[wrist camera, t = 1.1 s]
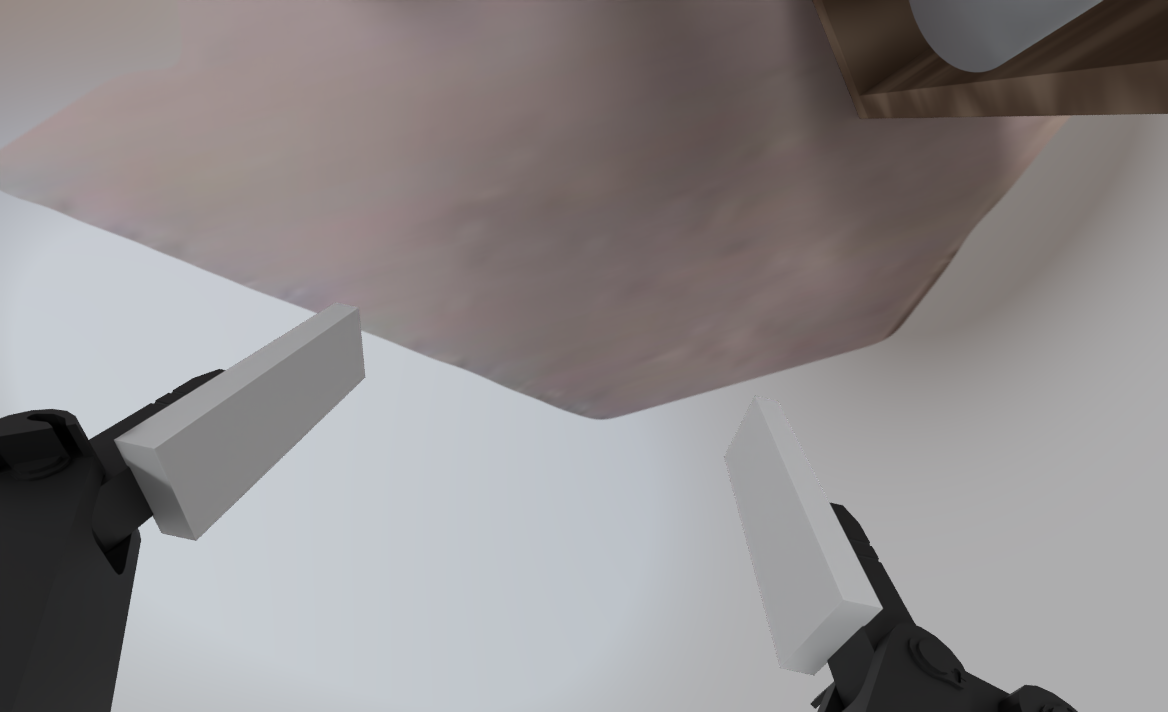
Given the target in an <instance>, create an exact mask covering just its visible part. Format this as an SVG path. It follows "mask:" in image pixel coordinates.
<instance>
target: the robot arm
mask: <svg viewBox="0 0 1168 712" xmlns="http://www.w3.org/2000/svg"><path fill="white" fill-rule="evenodd" d="M364 378H365V369H364V359H363V348H362V337H361V326H360V315H359V307H354V306H350V305H345V304H341V303H336V302H335V303H334V304H332V305H331V306H329V307H327V308H326V309H324V310H322V311H321V312H319V313H318V314H316V315H314V316H313V317H311V318H310V319H308V320H306V321H305V322H303V323H301V324H300V325H299V326H297V327H295V328H293V329H292V330H290V331H289V332H287V333H285V334H284V335H282V336H281V337H279V338H277V339H276V340H274V341H273V342H271V343H269V344H268V345H266V346H264V347H263V348H261V349H260V350H258V351H256V352H255V353H253V354H252V355H250V356H248V357H247V358H245V359H243V360H242V361H240V362H239V363H237V364H235V365H234V366H232V367H231V368H229V369H227V370H222V369H218V370H215V371H212V372H209V373H206V374H204V375H201V376H198V377H195V378H193V379H191V380H189V381H188V382H186V383H185V384H183V385H181V386H179V387H178V388H176V389H174V390H173V392H172V393H167V394H166V395H164V396H162V397H161V398H159V399H157V400H156V402H155V403H154V404H152V403H150V404H149V405H147V406H146V407H144V408H142V409H140V410H139V411H137V412H135V413H134V414H132V415H130V416H129V417H127V418H125V419H124V420H122V421H120V422H118V423H117V424H115V425H113V426H112V427H110V428H109V429H107V430H105V431H103V432H101V433H100V434H98V435H96V436H95V437H93V438H91V439H90V440H88V438H87V436H86V434H85V433H84V431H83V429H82V427H81V425H80V424H79V422H78V420H77V418H76V416H74V415H73V414H71V413H69V412H68V411H63V410H55V409H45V410H31V411H27V412H22V413H18V414H13V415H9V416H6V417H3V418H0V712H110V711H111V706H112V700H113V694H114V689H115V683H116V678H117V672H118V666H119V661H120V655H121V650H122V644H123V638H124V633H125V626H126V621H127V616H128V610H129V605H130V599H131V594H132V588H133V582H134V576H135V571H136V565H137V560H138V554H139V548H140V543H141V538H140V532H139V530H138V527H139V526H141V525H142V524H143V523H144V522H145V521H146V520H148V519H149V518H150V517H152V516H153V517H154V519H155V521H156V523H157V525H158V527H159V529H160V531H161V533H163V534H167V535H172V536H177V537H181V538H186V539H191V540H195V541H196V540H197V539H198V538H199V537H200V536H202V535H203V534H204V533H205V532H206V531H207V530H208V529H209V528H210V527H211V526H212V525H213V524H214V523H215V522H216V521H217V520H218V519H219V518H220V517H221V516H222V515H223V514H224V513H225V512H226V511H227V510H228V509H229V508H230V507H231V506H232V505H234V504H235V503H236V502H237V501H238V500H239V499H240V498H241V497H242V496H243V495H244V494H245V493H246V492H247V491H248V490H249V489H250V488H251V487H252V486H253V485H254V484H255V483H256V482H257V481H258V480H259V479H260V478H262V476H264V475H265V474H266V473H267V472H268V471H269V470H270V469H271V468H272V467H273V466H274V465H275V464H276V463H277V462H278V461H279V460H280V459H281V458H282V457H283V456H284V455H285V454H286V453H287V452H288V451H289V450H290V449H292V447H294V446H295V445H296V444H297V443H298V442H299V441H300V440H301V439H302V438H303V437H304V436H305V435H306V434H307V433H308V432H309V431H310V430H311V429H312V428H313V427H314V426H315V425H316V424H317V423H318V422H319V421H320V420H321V419H322V418H324V417H325V416H326V414H328V413H329V412H330V411H331V410H332V409H333V408H334V407H335V406H336V405H337V404H338V403H339V402H340V401H341V400H342V399H343V398H344V397H345V396H346V395H347V394H348V393H349V392H350V391H352V390H353V388H354V387H356V386H357V385H358V384H359V383H360V382H361V381H362V380H363V379H364ZM724 458H725V462H726V465H727V469H728V473H729V477H730V481H731V484H732V488H733V492H734V496H735V499H736V503H737V507H738V511H739V514H740V518H741V522H742V526H743V529H744V533H745V537H746V541H747V545H748V549H749V552H750V556H751V560H752V564H753V567H754V571H755V575H756V579H757V582H758V586H759V590H760V593H761V598H762V601H763V605H764V609H765V613H766V616H767V620H768V624H769V627H770V631H771V635H772V639H773V643H774V647H775V650H776V654H777V658H778V662H779V665H780V668H783V669H787V670H792V671H796V672H801V673H805V674H810V675H815V674H816V673H817V672H818V671H819V670H820V669H821V668H822V667H823V666H824V665H825V664H826V663H827V662H828V664H829V667H830V670H831V673H832V675H833V678H834V682H833V683H832V684H831V685H830V686H828V687H827V688H826V689H825V690H824V691H823V692H822V693H821V694H820V695H819V696H817V697H816V698H815V699H814V701H813V702H812V703H811V705H812V706H813V707H814V708H817V707H818V706H819V705H820V704H821V705H820V707H819V709H818V712H1077V711H1076V710H1075V709H1074V708H1073V707H1072V706H1071V705H1069V704H1068V703H1066V702H1065V701H1063V700H1062V699H1061V698H1059V697H1058V696H1056V695H1055V694H1053V693H1052V692H1049V691H1047V690H1045V689H1043V688H1040V687H1038V686H1031V685H1024V686H1023V687H1021V688H1019V689H1018V690H1016V691H1014V692H1013V693H1011V694H1009V693H1006V692H1005V691H1003V690H1001V689H999V688H997V687H995V686H993V685H991V684H989V683H987V682H985V681H983V680H981V679H979V678H977V677H976V676H974V675H972V674H970V673H968V672H966V671H965V669H964V667H963V665H962V664H961V662H960V661H959V660H958V659H957V657H956V656H955V655H954V654H953V652H952V651H951V650H950V649H949V648H948V647H947V646H946V645H945V644H944V643H942V642H941V641H940V640H939V639H938V638H937V637H936V636H934V635H932V634H931V633H929V632H928V631H926V630H924V629H923V628H921V627H919V626H916V624H915V623H914V621H913V620H912V618H911V616H910V614H909V612H908V611H907V608H906V607H905V605H904V603H903V601H902V599H901V598H900V596H899V594H898V592H897V590H896V589H895V587H894V585H893V583H892V582H891V580H890V578H889V576H888V574H887V572H886V571H885V569H884V567H883V565H882V563H881V562H879V561H878V559H879V558H878V556H877V554H876V553H875V551H874V549H873V547H872V546H870V544H869V543H870V542H869V540H868V538H867V536H866V535H865V533H864V531H863V529H862V528H861V526H860V524H859V523H858V521H857V520H856V519H855V518H854V517H853V516H852V515H851V514H850V513H849V512H848V511H847V510H846V508H845V507H844V506H843V505H838V504H834V503H829V501H828V499H827V497H826V495H825V493H824V491H823V489H822V488H821V485H820V483H819V481H818V479H817V477H816V476H815V474H814V471H813V470H812V467H811V466H810V464H809V462H808V460H807V458H806V456H805V454H804V452H803V450H802V448H801V446H800V444H799V442H798V440H797V438H796V436H795V434H794V432H793V430H792V428H791V426H790V424H789V422H788V420H787V418H786V416H785V414H784V412H783V410H782V408H781V406H780V404H779V402H778V401H777V400H772V399H768V398H763V397H759V396H754V398H753V400H752V402H751V404H750V406H749V408H748V410H747V412H746V414H745V416H744V418H743V420H742V422H741V424H740V426H739V428H738V430H737V432H736V434H735V436H734V438H733V440H732V442H731V444H730V446H729V448H728V450H727V452H726V454H725V456H724Z"/></svg>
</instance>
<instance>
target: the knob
mask: <svg viewBox="0 0 1168 712" xmlns="http://www.w3.org/2000/svg"><path fill="white" fill-rule="evenodd" d="M1101 1H1103V0H909V2H910V6H911V9H912V12H913V15H914V18H915V21H916V23H917V25H918V27H919V29H920V31H921V33H922V35H923V36H924V38H925V39H926V41H927V42H928V44H929V45H930V46H931V47H932V49H933V50H934V51H935V52H936V53H937V54H938V55H939V56H940V57H941V58H942V59H944V60H945V61H946V62H947V63H949V64H951V65H952V66H954V67H956V68H958V69H961V70H964V71H968V72H985V71H989V70H992V69H994V68H997V67H998V66H1000V65H1002V64H1003V63H1005V62H1006V61H1008V60H1010V59H1011V58H1013V57H1014V56H1016V55H1017V54H1019V53H1021V52H1022V51H1024V50H1025V49H1027V48H1029V47H1030V46H1032V45H1033V44H1035V43H1037V42H1038V41H1040V40H1041V39H1043V38H1044V37H1046V36H1048V35H1049V34H1051V33H1052V32H1054V31H1056V30H1057V29H1059V28H1060V27H1062V26H1063V25H1065V24H1067V23H1068V22H1070V21H1071V20H1073V19H1075V18H1076V17H1078V16H1079V15H1081V14H1082V13H1084V12H1086V11H1087V10H1089V9H1090V8H1092V7H1094V6H1095V5H1097V4H1098V3H1100V2H1101Z"/></svg>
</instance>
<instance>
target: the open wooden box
mask: <svg viewBox="0 0 1168 712" xmlns="http://www.w3.org/2000/svg"><path fill="white" fill-rule="evenodd" d="M812 1H813V3H814V6H815V8H816V11H817V13H818V16H819V18H820V21H821V23H822V26H823V28H824V31H825V33H826V36H827V38H828V41H829V43H830V46H831V48H832V51H833V53H834V55H835V58H836V60H837V63H838V65H839V68H840V70H841V73H842V75H843V78H844V80H845V83H846V85H847V88H848V90H849V93H850V95H851V98H852V100H853V103H854V105H855V108H856V110H857V113H858V115H859V118H860V119H871V118H933V117H994V116H1056V115H1111V114H1112V115H1115V114H1116V115H1117V114H1168V0H1103V1H1101V2H1100V3H1098V4H1097V5H1095V6H1094V7H1092V8H1090V9H1089V10H1087V11H1086V12H1084V13H1082V14H1081V15H1079V16H1078V17H1076V18H1075V19H1073V20H1071V21H1070V22H1068V23H1067V24H1065V25H1063V26H1062V27H1060V28H1059V29H1057V30H1056V31H1054V32H1052V33H1051V34H1049V35H1048V36H1046V37H1044V38H1043V39H1041V40H1040V41H1038V42H1037V43H1035V44H1033V45H1032V46H1030V47H1029V48H1027V49H1025V50H1024V51H1022V52H1021V53H1019V54H1017V55H1016V56H1014V57H1013V58H1011V59H1010V60H1008V61H1006V62H1005V63H1003V64H1002V65H1000V66H998V67H997V68H994V69H992V70H989V71H985V72H968V71H964V70H961V69H958V68H956V67H954V66H952V65H951V64H949V63H947V62H946V61H945V60H944V59H942V58H941V57H940V56H939V55H938V54H937V53H936V52H935V51H934V50H933V49H932V47H931V46H930V45H929V44H928V42H927V41H926V39H925V38H924V36H923V35H922V33H921V31H920V29H919V27H918V25H917V23H916V21H915V18H914V15H913V12H912V9H911V6H910V2H909V0H812Z"/></svg>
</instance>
